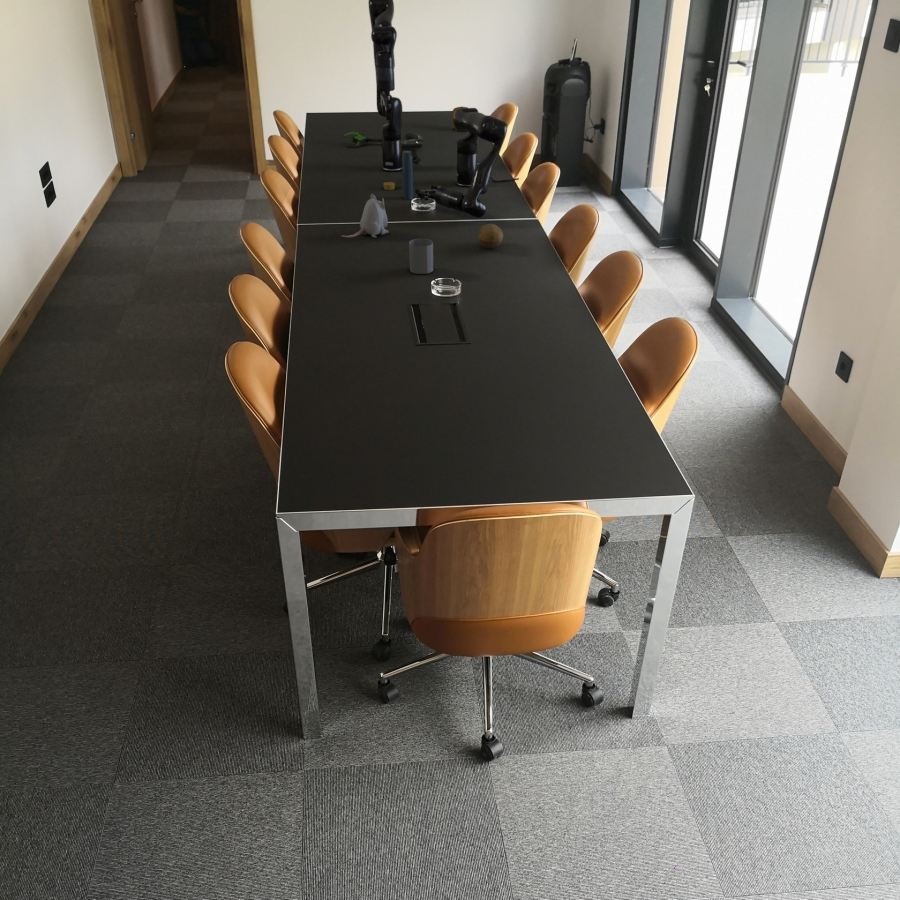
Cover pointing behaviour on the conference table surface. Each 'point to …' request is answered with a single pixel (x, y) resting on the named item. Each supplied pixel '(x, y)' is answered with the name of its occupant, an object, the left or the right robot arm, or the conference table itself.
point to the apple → (453, 115)
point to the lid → (389, 185)
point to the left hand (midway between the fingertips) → (387, 118)
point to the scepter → (360, 139)
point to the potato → (490, 236)
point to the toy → (373, 218)
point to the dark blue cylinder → (407, 175)
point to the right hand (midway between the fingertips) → (423, 189)
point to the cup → (421, 256)
